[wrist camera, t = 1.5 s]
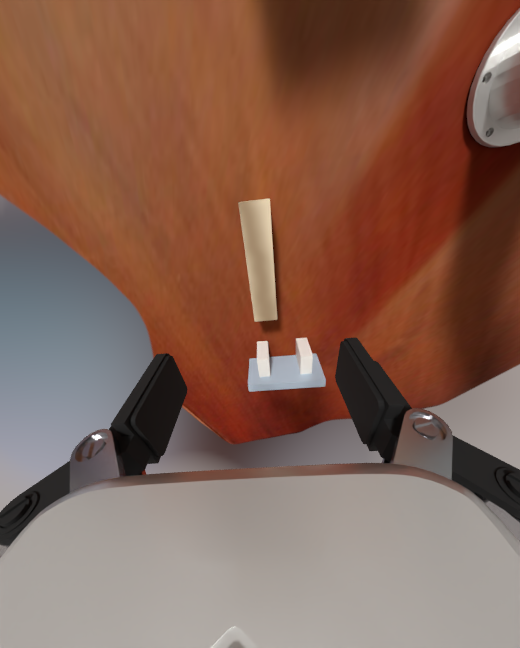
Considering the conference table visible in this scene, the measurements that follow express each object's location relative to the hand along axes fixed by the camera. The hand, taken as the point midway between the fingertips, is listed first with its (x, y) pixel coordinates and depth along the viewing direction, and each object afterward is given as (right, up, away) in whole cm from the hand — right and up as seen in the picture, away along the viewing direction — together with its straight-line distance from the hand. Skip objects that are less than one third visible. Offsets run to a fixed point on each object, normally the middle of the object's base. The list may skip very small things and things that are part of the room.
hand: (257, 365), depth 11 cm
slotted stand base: (+6, -5, +35) cm, 36 cm away
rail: (0, +14, +23) cm, 27 cm away
